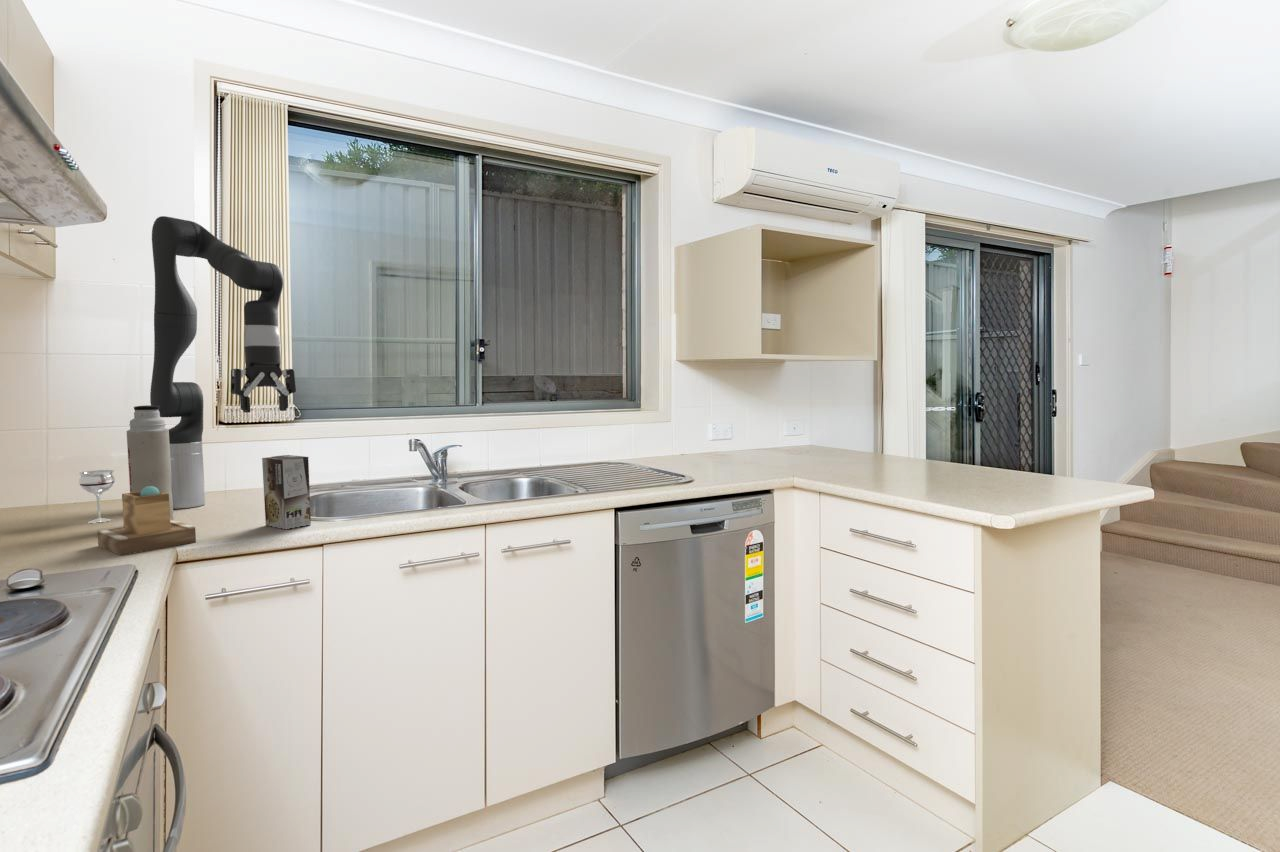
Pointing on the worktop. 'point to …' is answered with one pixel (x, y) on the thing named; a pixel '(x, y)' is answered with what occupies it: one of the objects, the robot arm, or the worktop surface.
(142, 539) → the dock
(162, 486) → the thermos bottle
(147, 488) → the ball
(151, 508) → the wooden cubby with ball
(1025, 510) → the worktop surface
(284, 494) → the coffee box
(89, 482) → the wineglass
